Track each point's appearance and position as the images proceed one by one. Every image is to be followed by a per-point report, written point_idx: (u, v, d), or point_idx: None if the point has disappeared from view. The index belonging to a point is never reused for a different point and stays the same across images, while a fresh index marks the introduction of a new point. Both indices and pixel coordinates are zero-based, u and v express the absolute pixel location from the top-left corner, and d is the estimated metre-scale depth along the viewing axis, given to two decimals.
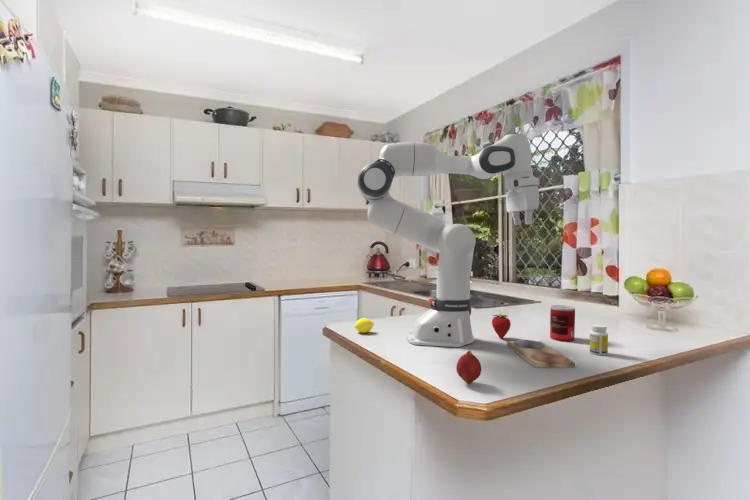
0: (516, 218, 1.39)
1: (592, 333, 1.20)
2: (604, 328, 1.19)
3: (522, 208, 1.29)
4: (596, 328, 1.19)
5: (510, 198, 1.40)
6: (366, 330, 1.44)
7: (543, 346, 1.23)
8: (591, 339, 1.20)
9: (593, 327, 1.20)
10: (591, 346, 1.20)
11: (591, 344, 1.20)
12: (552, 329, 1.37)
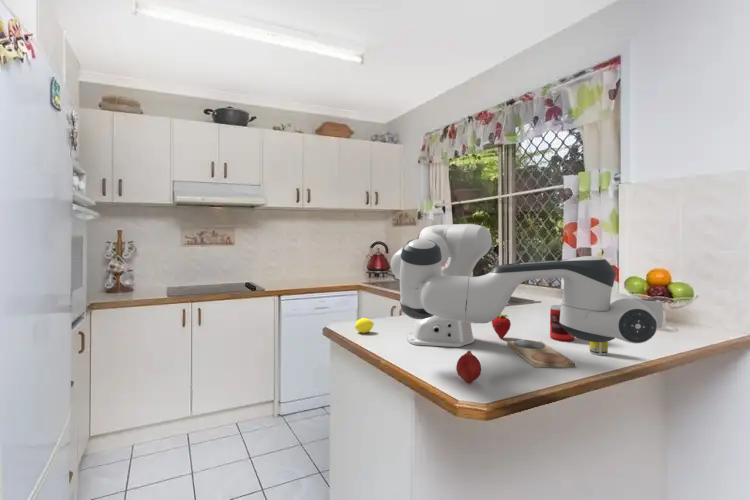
0: None
1: None
2: None
3: None
4: None
5: None
6: (366, 330, 1.44)
7: (543, 346, 1.23)
8: None
9: None
10: (591, 346, 1.20)
11: (591, 344, 1.20)
12: (552, 329, 1.37)
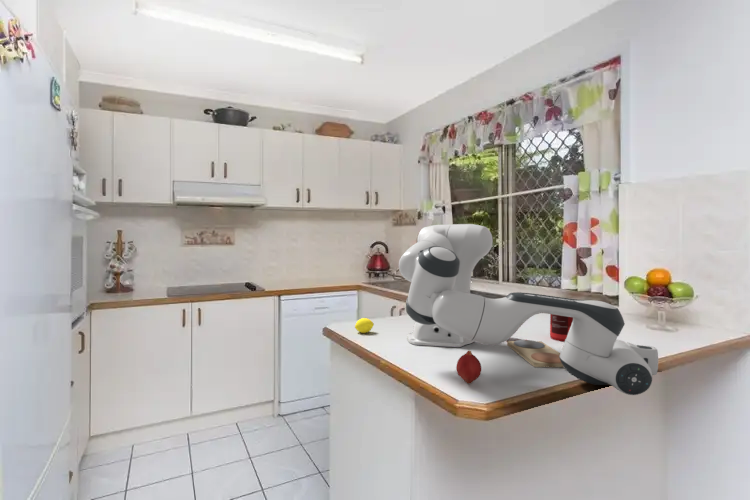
0: None
1: None
2: None
3: None
4: None
5: None
6: (366, 330, 1.44)
7: (543, 346, 1.23)
8: None
9: None
10: None
11: None
12: (552, 329, 1.37)
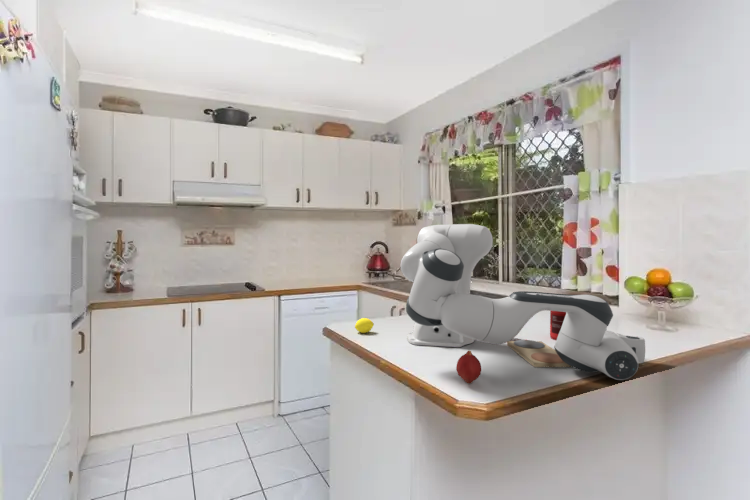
0: None
1: None
2: None
3: None
4: None
5: None
6: (366, 330, 1.44)
7: (543, 346, 1.23)
8: None
9: None
10: None
11: None
12: (552, 329, 1.37)
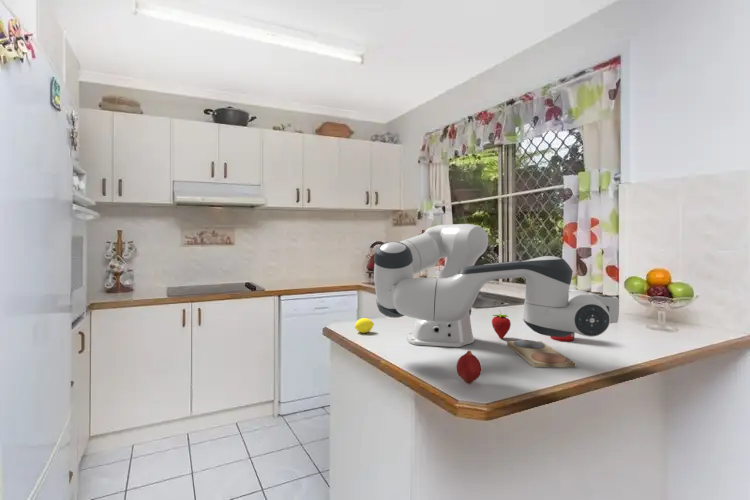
0: None
1: None
2: None
3: None
4: None
5: None
6: (366, 330, 1.44)
7: (543, 346, 1.23)
8: None
9: None
10: None
11: None
12: None
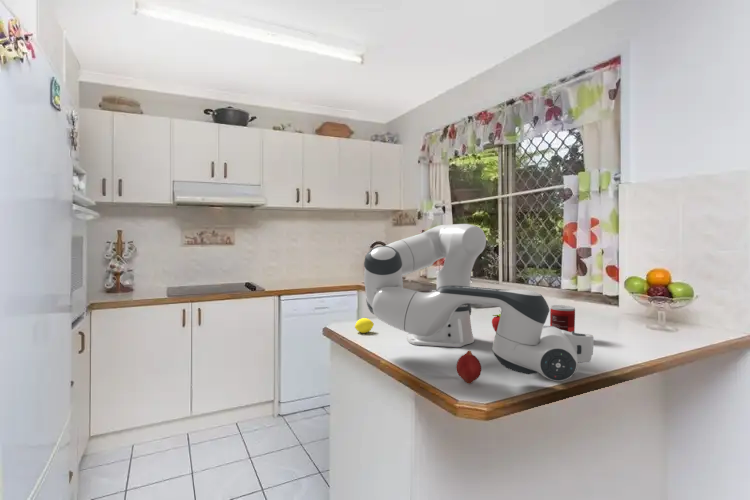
0: None
1: None
2: None
3: None
4: None
5: None
6: (366, 330, 1.44)
7: None
8: None
9: None
10: None
11: None
12: None
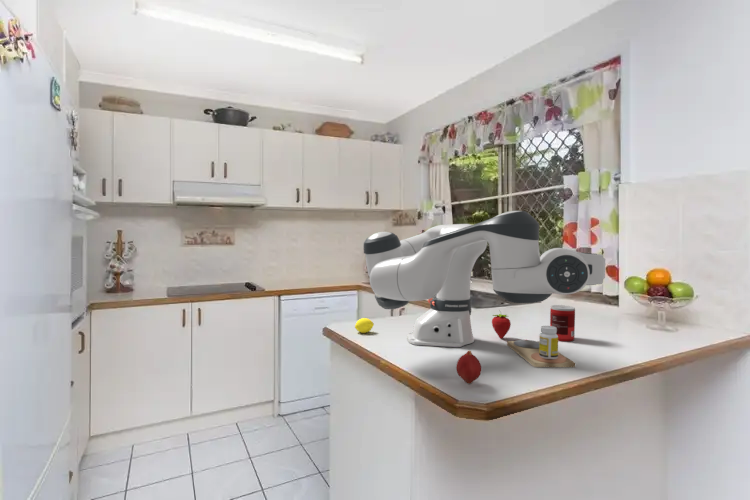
0: None
1: (541, 335, 1.11)
2: (554, 330, 1.10)
3: None
4: (545, 330, 1.10)
5: None
6: (366, 330, 1.44)
7: None
8: (540, 341, 1.11)
9: (542, 329, 1.11)
10: (540, 349, 1.11)
11: (540, 348, 1.11)
12: None
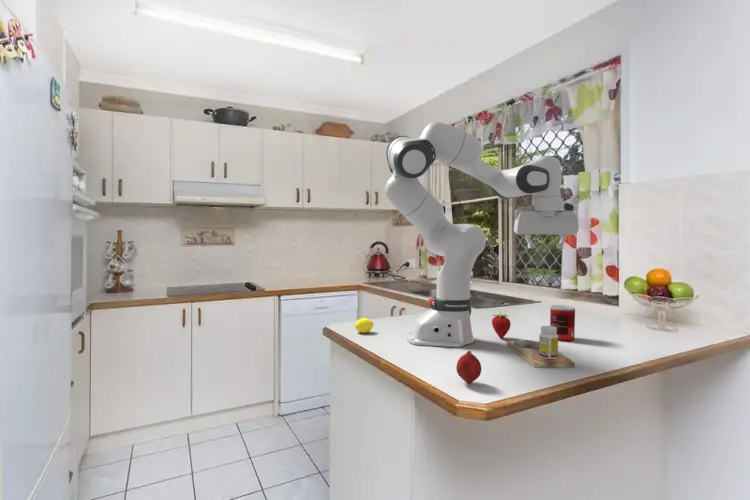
0: None
1: (541, 335, 1.11)
2: (554, 330, 1.10)
3: (564, 232, 1.31)
4: (545, 330, 1.10)
5: (530, 219, 1.31)
6: (366, 330, 1.44)
7: None
8: (540, 341, 1.11)
9: (542, 329, 1.11)
10: (540, 349, 1.11)
11: (540, 348, 1.11)
12: None
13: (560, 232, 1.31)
